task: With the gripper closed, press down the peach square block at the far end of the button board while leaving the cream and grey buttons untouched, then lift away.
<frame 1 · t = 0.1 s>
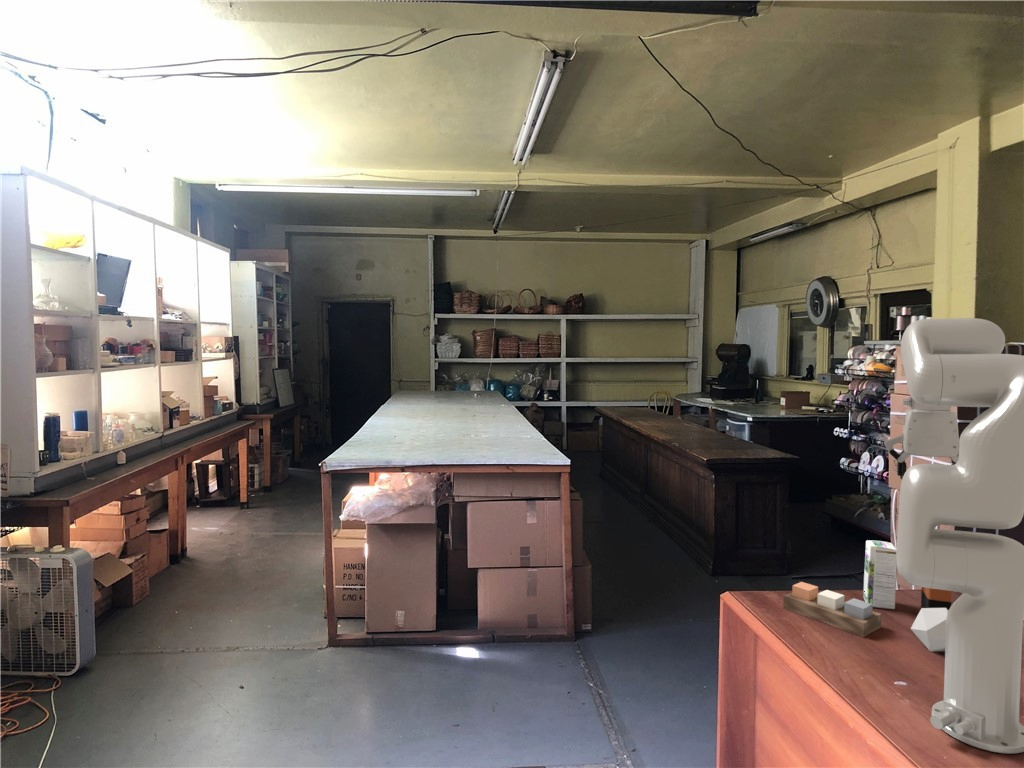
hand: (928, 480, 136), 31 cm above the counter, tool pointing down, fingers open, 9 cm apart
cream button: (830, 600, 138), point 4 cm above the counter, slide at 0.0 cm
grey button: (858, 610, 133), point 4 cm above the counter, slide at 0.0 cm
battery: (935, 620, 136), on the counter
peach square block: (805, 592, 143), point 4 cm above the counter, slide at 0.0 cm
button board: (830, 617, 138), on the counter
syrup box: (879, 604, 145), on the counter
die: (937, 648, 124), on the counter
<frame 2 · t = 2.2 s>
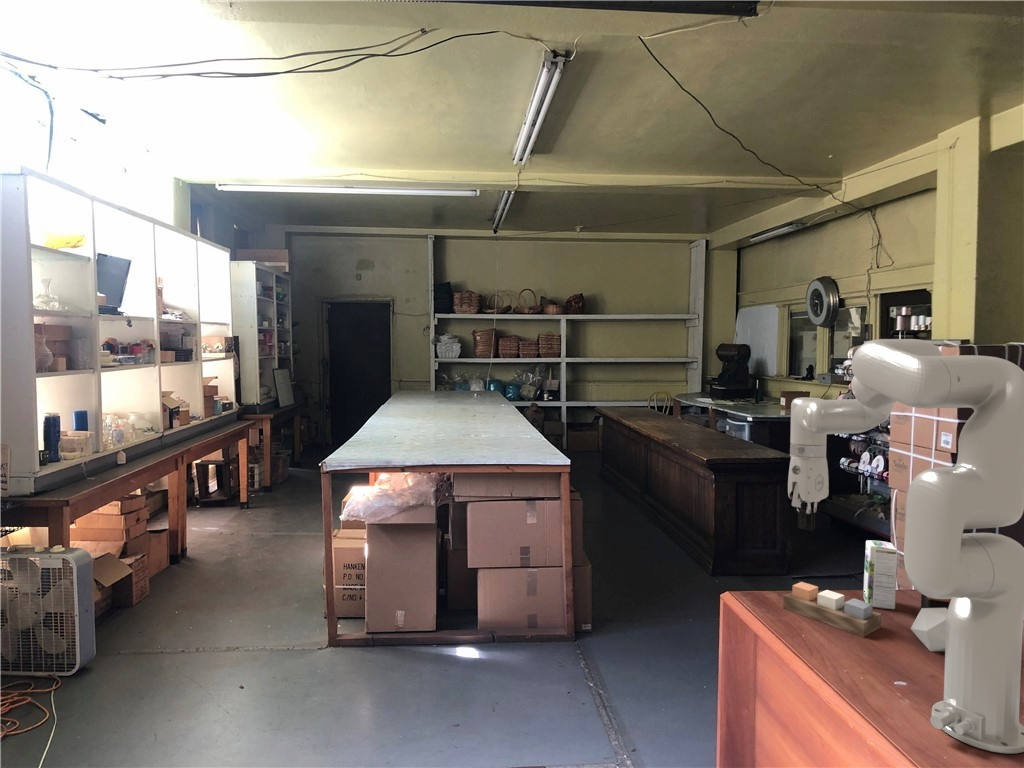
hand: (806, 528, 142), 19 cm above the counter, tool pointing down, fingers closed
nothing on the counter moved.
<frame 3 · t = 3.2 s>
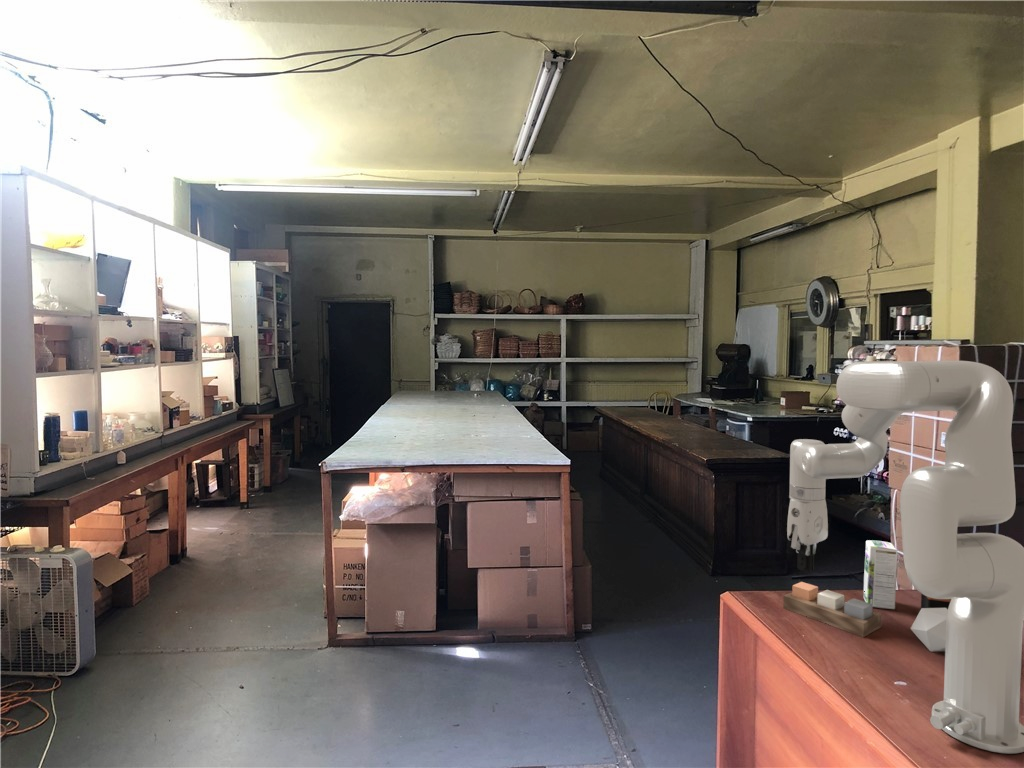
hand: (805, 569, 142), 9 cm above the counter, tool pointing down, fingers closed
nothing on the counter moved.
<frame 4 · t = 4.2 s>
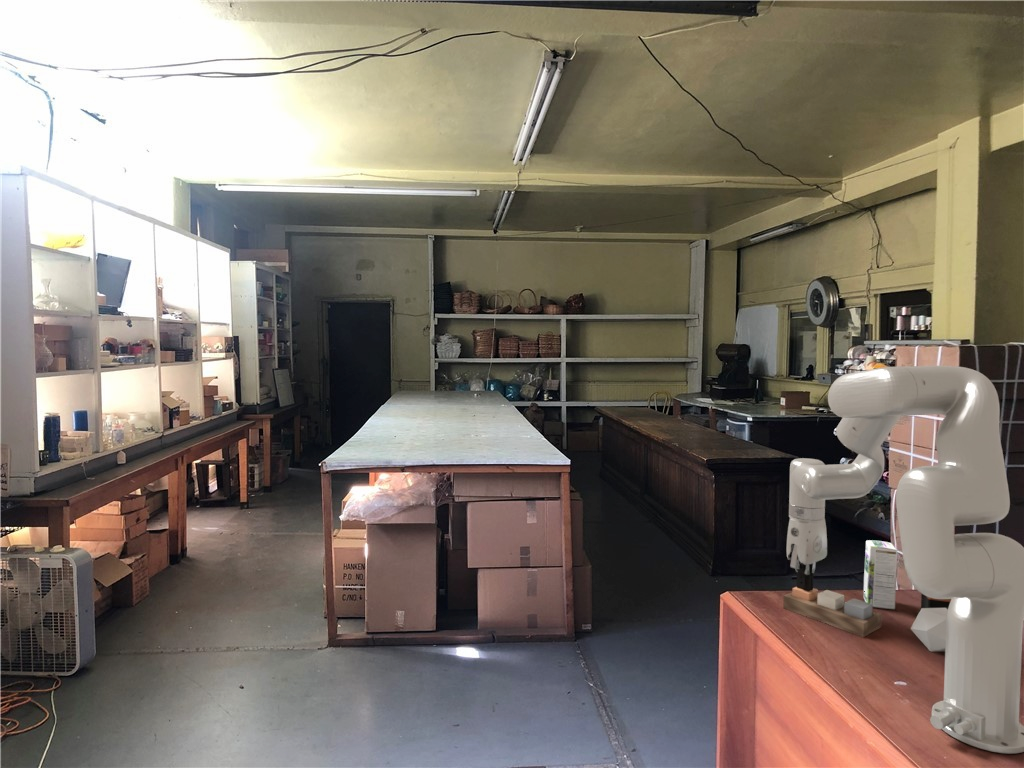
hand: (804, 588, 143), 5 cm above the counter, tool pointing down, fingers closed
peach square block: (805, 595, 143), point 3 cm above the counter, slide at 0.7 cm, touching gripper
everything else where it was.
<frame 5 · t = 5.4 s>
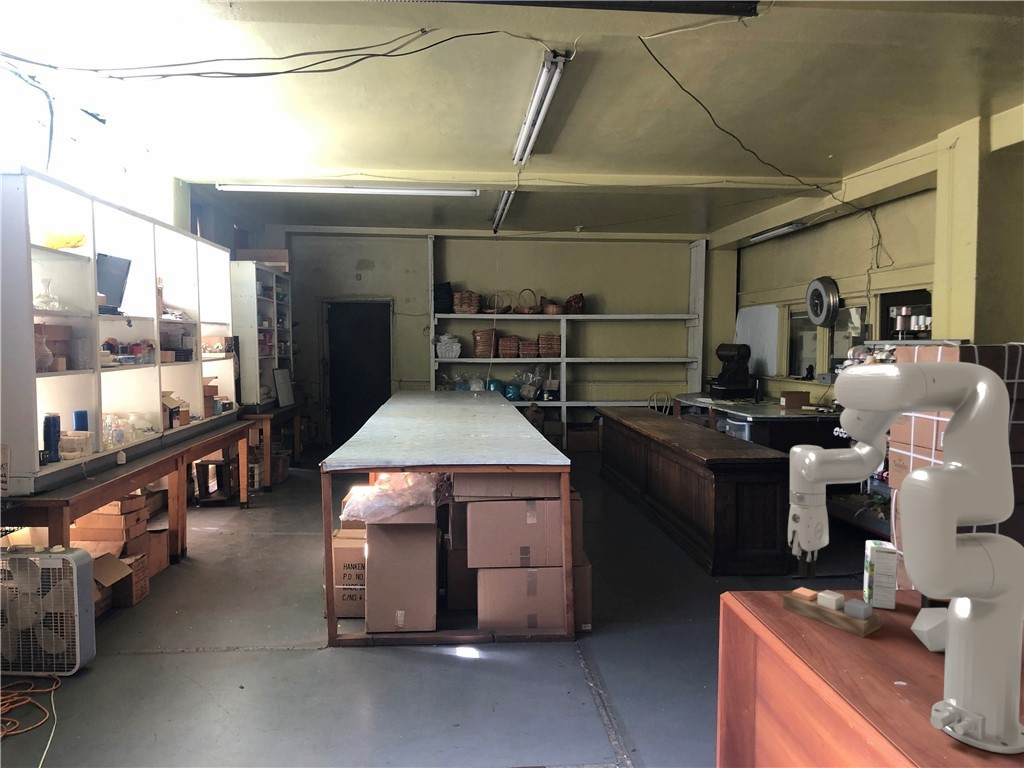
hand: (806, 576, 142), 8 cm above the counter, tool pointing down, fingers closed
peach square block: (805, 597, 143), point 2 cm above the counter, slide at 1.3 cm
everything else where it was.
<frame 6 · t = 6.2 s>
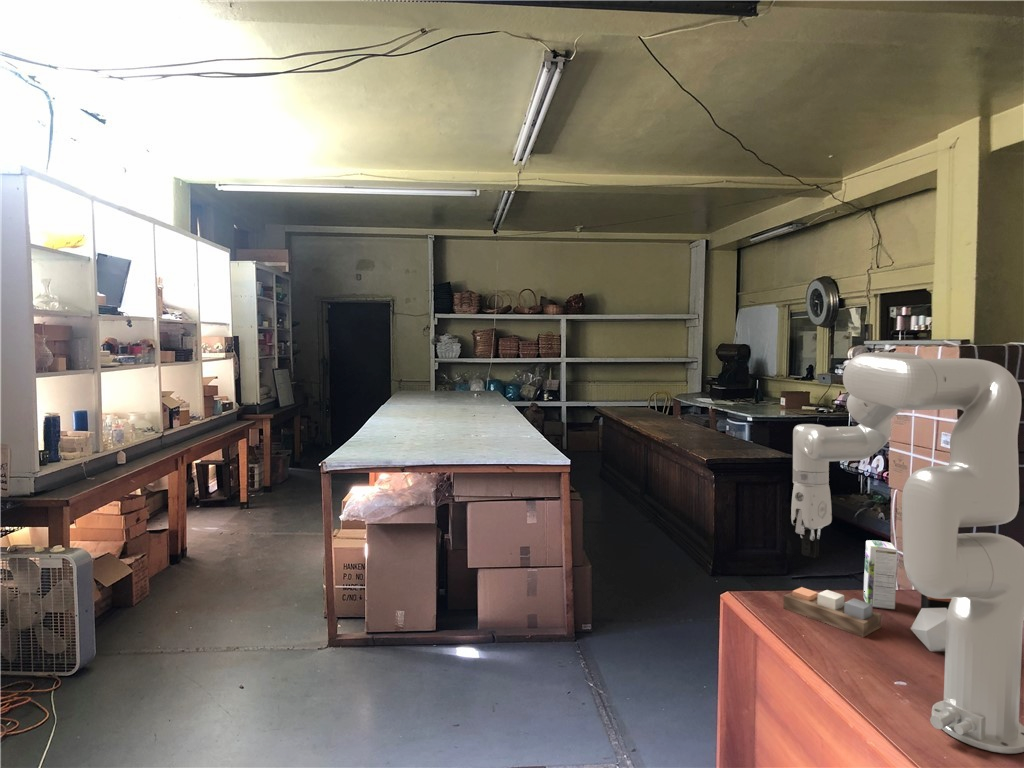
hand: (810, 555, 142), 13 cm above the counter, tool pointing down, fingers closed
nothing on the counter moved.
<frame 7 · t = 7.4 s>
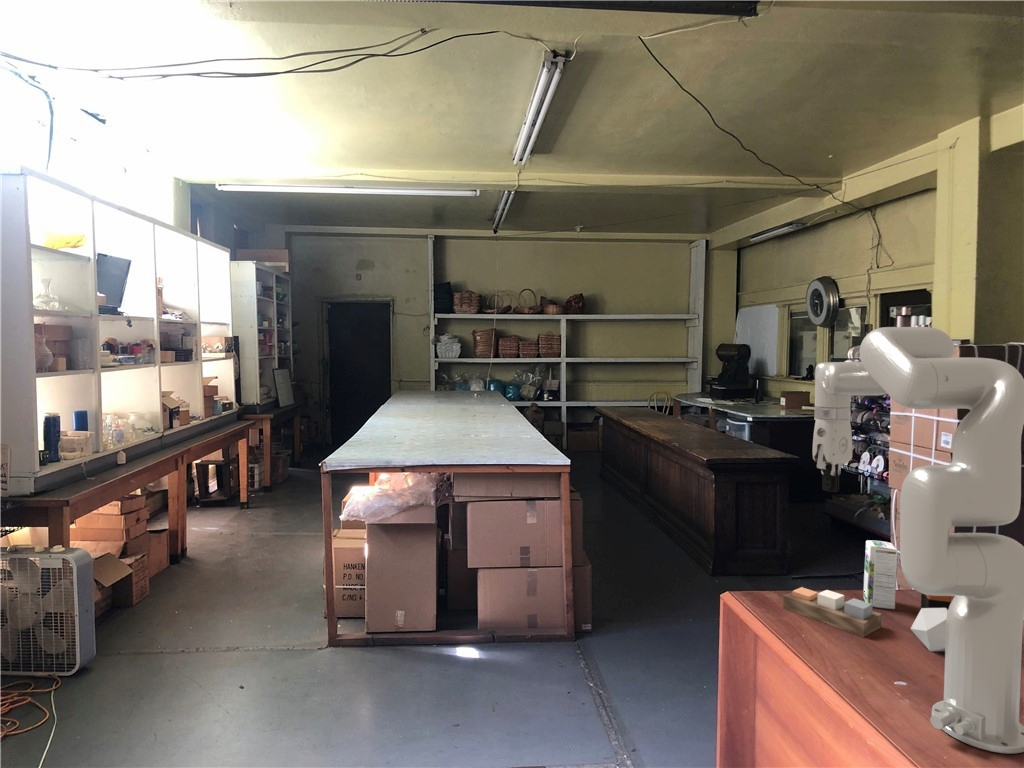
hand: (830, 490, 145), 27 cm above the counter, tool pointing down, fingers closed
nothing on the counter moved.
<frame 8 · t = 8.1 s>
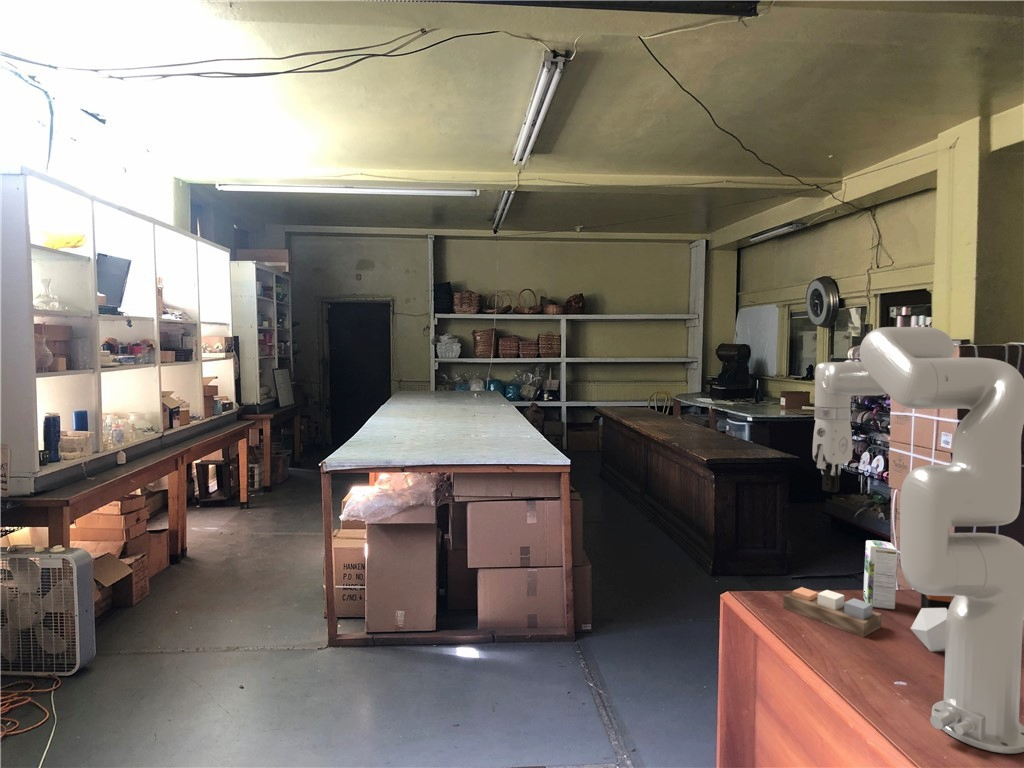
hand: (830, 490, 145), 27 cm above the counter, tool pointing down, fingers closed
nothing on the counter moved.
at the end: peach square block slide at 1.3 cm; cream button slide at 0.0 cm; grey button slide at 0.0 cm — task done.
